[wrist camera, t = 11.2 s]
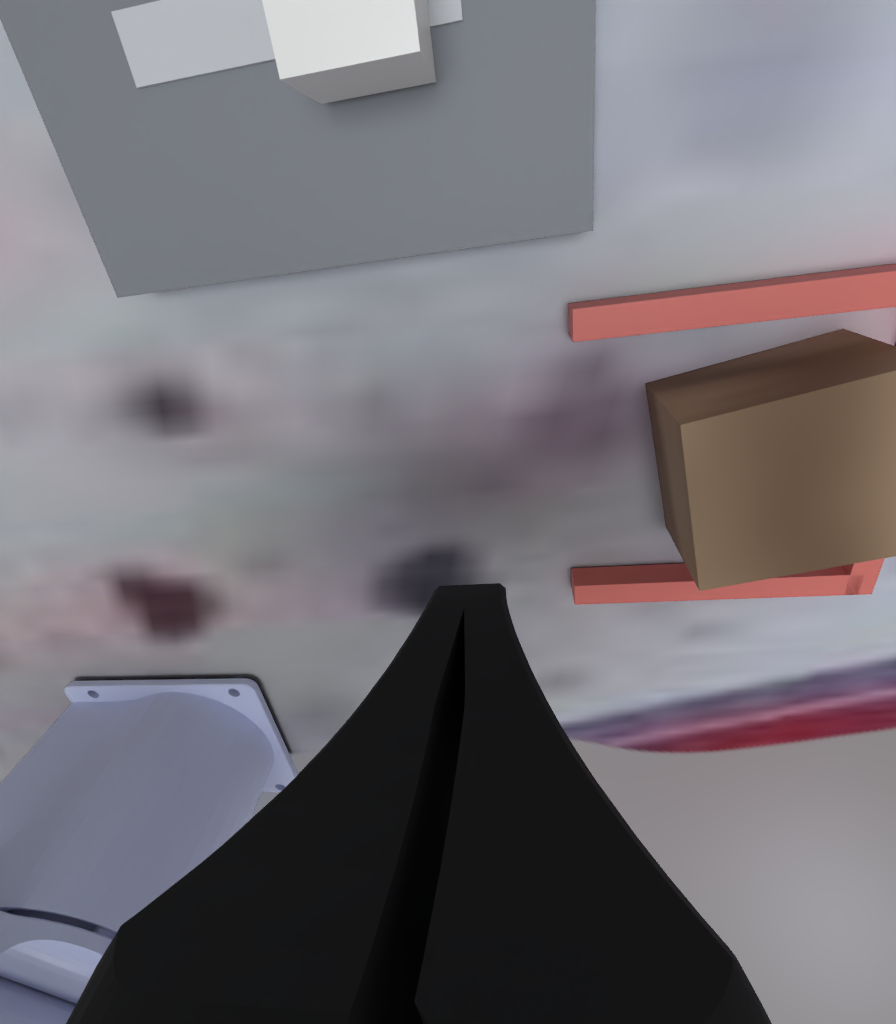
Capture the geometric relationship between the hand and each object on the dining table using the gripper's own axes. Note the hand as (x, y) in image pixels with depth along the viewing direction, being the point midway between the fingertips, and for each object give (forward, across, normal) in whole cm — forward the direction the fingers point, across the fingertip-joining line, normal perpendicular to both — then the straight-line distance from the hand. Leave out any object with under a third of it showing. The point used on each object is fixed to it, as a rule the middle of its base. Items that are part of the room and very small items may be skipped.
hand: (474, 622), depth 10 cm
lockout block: (+7, -8, 0) cm, 11 cm away
